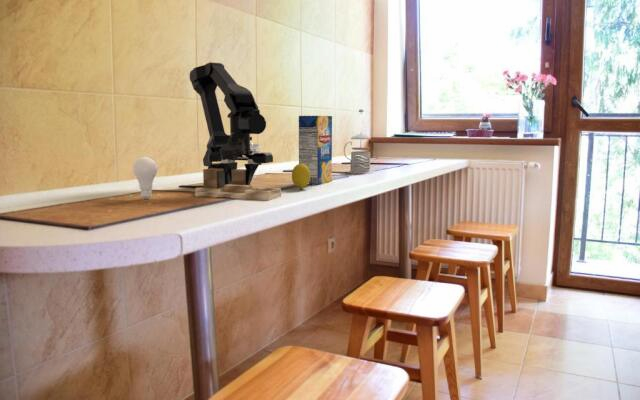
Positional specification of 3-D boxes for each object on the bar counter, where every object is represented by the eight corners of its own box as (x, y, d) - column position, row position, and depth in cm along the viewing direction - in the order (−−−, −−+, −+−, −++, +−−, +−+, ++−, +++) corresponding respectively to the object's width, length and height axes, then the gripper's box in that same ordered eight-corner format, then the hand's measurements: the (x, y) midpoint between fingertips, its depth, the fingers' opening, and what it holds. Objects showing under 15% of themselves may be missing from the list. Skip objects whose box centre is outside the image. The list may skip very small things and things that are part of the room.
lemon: (308, 190, 162) (308, 163, 161) (289, 190, 163) (289, 163, 162) (312, 188, 167) (312, 162, 166) (294, 187, 168) (294, 161, 167)
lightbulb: (136, 201, 139) (134, 158, 138) (132, 198, 145) (130, 156, 143) (160, 199, 142) (159, 157, 141) (156, 196, 148) (154, 156, 146)
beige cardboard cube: (244, 190, 160) (243, 170, 160) (231, 190, 162) (231, 170, 161) (251, 189, 165) (250, 169, 164) (239, 188, 166) (238, 168, 165)
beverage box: (298, 183, 179) (298, 115, 176) (313, 180, 189) (313, 116, 186) (317, 184, 176) (317, 115, 173) (331, 181, 186) (332, 116, 183)
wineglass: (263, 177, 198) (263, 144, 197) (246, 178, 195) (246, 144, 193) (255, 176, 204) (254, 143, 202) (238, 177, 200) (237, 144, 198)
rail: (194, 196, 149) (194, 169, 148) (210, 192, 156) (209, 167, 155) (268, 200, 141) (268, 172, 140) (281, 196, 149) (281, 169, 148)
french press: (373, 173, 215) (374, 108, 211) (344, 173, 215) (344, 108, 211) (371, 171, 224) (372, 109, 221) (343, 171, 225) (343, 109, 221)
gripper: (197, 133, 156) (199, 188, 158) (256, 134, 150) (257, 191, 152) (217, 133, 167) (218, 184, 169) (273, 133, 160) (274, 186, 163)
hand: (241, 186), depth 163 cm, fingers closed on beige cardboard cube, 4 cm apart
